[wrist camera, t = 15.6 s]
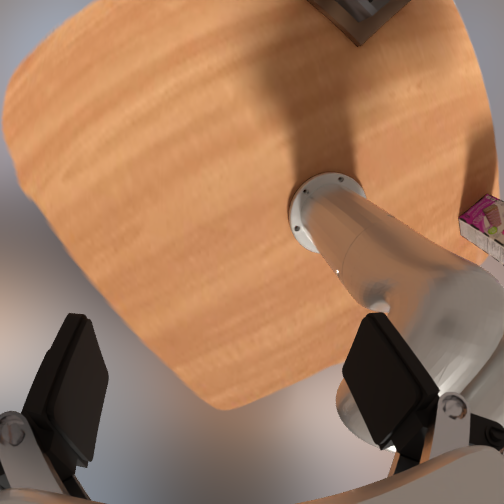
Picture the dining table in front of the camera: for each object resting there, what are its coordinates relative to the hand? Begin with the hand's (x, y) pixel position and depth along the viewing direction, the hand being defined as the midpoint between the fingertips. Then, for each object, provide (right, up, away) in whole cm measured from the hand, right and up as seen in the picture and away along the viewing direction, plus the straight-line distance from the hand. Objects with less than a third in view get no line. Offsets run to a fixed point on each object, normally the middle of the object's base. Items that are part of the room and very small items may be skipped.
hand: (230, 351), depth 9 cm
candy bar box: (+47, +11, +38) cm, 62 cm away
